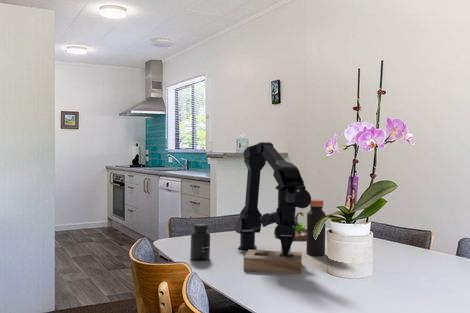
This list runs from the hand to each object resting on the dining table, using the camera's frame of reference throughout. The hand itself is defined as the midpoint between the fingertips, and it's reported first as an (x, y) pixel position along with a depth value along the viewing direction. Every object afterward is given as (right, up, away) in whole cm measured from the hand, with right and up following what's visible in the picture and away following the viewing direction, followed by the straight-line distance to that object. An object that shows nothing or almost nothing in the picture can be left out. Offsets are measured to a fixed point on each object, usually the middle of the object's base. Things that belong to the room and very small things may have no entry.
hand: (285, 252), depth 144 cm
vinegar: (+13, -5, +20) cm, 25 cm away
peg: (0, -5, 0) cm, 5 cm away
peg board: (-4, -5, +1) cm, 6 cm away
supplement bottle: (-29, -5, +11) cm, 31 cm away
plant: (+11, -5, +54) cm, 56 cm away
